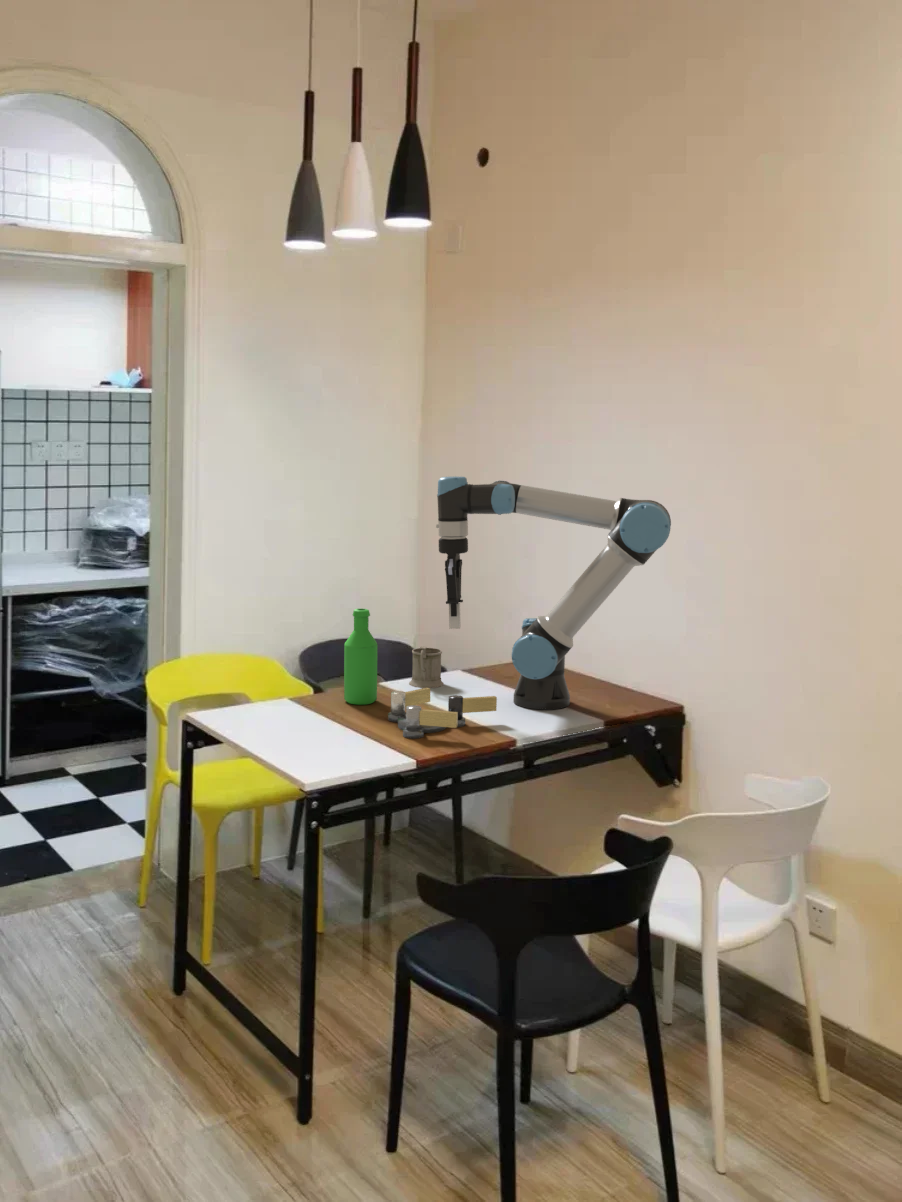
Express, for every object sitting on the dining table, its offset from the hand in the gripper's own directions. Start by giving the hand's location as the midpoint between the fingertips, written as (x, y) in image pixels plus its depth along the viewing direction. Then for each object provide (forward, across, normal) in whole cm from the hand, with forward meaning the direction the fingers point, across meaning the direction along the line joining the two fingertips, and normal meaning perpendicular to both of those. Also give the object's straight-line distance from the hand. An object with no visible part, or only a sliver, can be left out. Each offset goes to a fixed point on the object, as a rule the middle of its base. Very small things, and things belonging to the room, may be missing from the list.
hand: (454, 628), depth 293 cm
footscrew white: (+20, +10, -10) cm, 24 cm away
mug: (+21, -24, -13) cm, 34 cm away
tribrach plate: (+21, +20, -6) cm, 30 cm away
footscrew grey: (+20, +27, -2) cm, 34 cm away
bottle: (+21, -2, -26) cm, 34 cm away
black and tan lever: (+20, +12, +6) cm, 25 cm away
